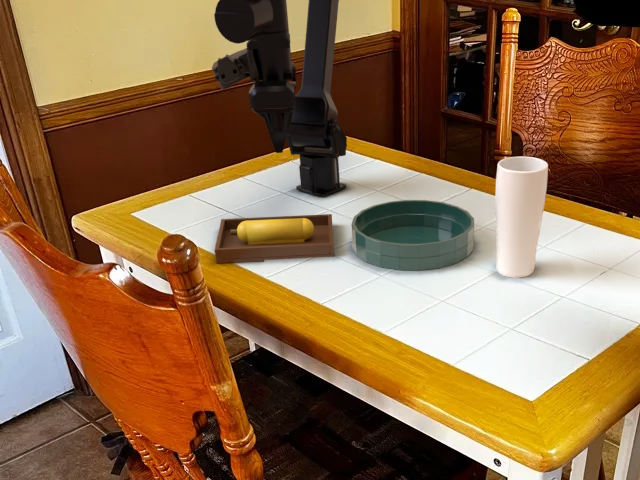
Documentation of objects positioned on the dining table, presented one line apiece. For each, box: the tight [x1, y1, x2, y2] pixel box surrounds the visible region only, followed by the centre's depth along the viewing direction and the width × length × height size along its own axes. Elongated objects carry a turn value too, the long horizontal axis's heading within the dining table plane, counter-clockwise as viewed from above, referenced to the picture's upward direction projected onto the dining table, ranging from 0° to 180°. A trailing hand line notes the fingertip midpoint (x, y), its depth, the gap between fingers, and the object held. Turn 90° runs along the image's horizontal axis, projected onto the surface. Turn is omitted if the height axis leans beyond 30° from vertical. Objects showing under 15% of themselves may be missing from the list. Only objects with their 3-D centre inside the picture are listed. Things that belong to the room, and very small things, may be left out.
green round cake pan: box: [350, 199, 475, 271], centre depth 125 cm, size 18×18×4 cm
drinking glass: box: [494, 155, 549, 279], centre depth 115 cm, size 7×7×15 cm
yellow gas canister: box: [231, 218, 314, 245], centre depth 127 cm, size 12×3×3 cm, turn 95°
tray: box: [214, 213, 335, 264], centre depth 127 cm, size 17×12×2 cm
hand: (279, 143), depth 129 cm, fingers open, 9 cm apart
